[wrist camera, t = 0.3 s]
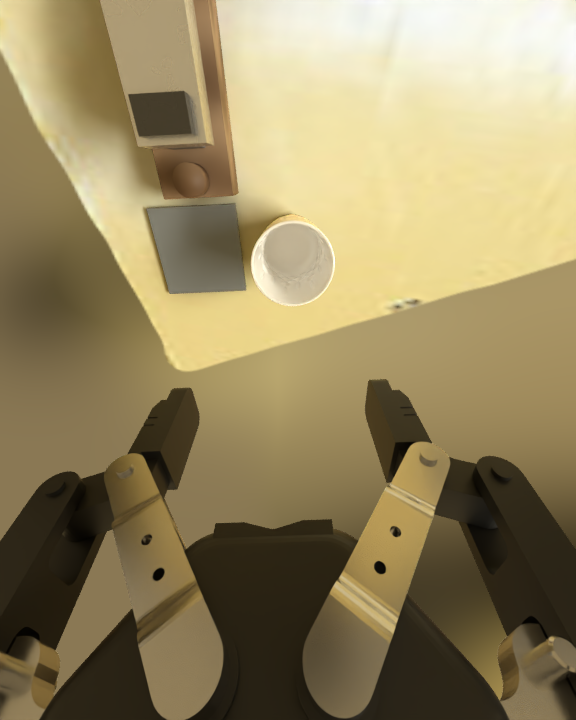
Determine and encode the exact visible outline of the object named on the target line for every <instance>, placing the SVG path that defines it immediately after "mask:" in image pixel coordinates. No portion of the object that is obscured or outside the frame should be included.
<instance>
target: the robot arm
mask: <svg viewBox="0 0 576 720" xmlns="http://www.w3.org/2000/svg"><path fill="white" fill-rule="evenodd" d="M365 414H366V419H367V422H368V426H369V428H370V432H371V435H372V438H373V441H374V444H375V447H376V450H377V453H378V457H379V460H380V463H381V466H382V469H383V472H384V476H385V479H386V482H387V483H389V482H391V484H390V486H387V487H386V489H385V490H384V492H383V494H382V496H381V498H380V500H379V502H378V504H377V506H376V508H375V510H374V512H373V514H372V516H371V517H370V519H369V521H368V523H367V525H366V527H365V529H364V531H363V533H362V535H361V537H360V539H359V541H358V540H357V539H355V538H354V537H352V536H351V535H349V534H347V533H345V532H342V531H340V530H337V529H333V526H332V520H331V519H330V520H303V521H300V522H296V523H293V524H290V525H286V526H283V527H280V528H277V529H269V528H265V527H260V526H256V525H252V524H248V523H244V522H243V523H216V524H215V529H214V533H213V534H210V535H207V536H205V537H203V538H201V539H200V540H198V541H196V542H195V543H193V544H192V545H191V546H189V547H188V548H186V546H185V543H184V541H183V539H182V537H181V535H180V533H179V530H178V528H177V526H176V523H175V521H174V519H173V517H172V514H171V512H170V510H169V508H168V505H167V503H166V501H165V499H164V497H165V494H166V492H167V490H175V489H178V486H179V483H180V480H181V476H182V474H183V471H184V468H185V465H186V462H187V459H188V456H189V453H190V450H191V447H192V444H193V441H194V438H195V435H196V432H197V429H198V426H199V411H198V408H197V405H196V401H195V398H194V395H193V391H192V389H191V388H174V389H172V390H171V393H170V394H169V396H168V398H167V400H161V401H160V402H159V403H158V404H157V405H156V406H155V407H154V408H152V410H151V412H150V414H149V416H148V419H146V421H145V423H144V426H143V427H142V428H141V430H140V432H139V434H138V436H137V438H136V439H135V441H134V443H133V445H132V447H131V449H130V450H129V452H128V454H127V455H124V456H121V457H119V458H118V459H116V460H115V461H113V462H112V463H111V464H110V465H109V466H108V468H107V469H106V471H105V472H102V473H99V474H96V475H93V476H89V477H86V478H83V479H81V478H80V477H79V476H78V474H76V473H75V472H63V473H59V474H57V475H55V476H53V477H51V478H49V479H48V480H46V481H45V482H44V483H43V484H42V485H41V486H39V488H38V489H37V490H36V491H35V493H34V494H33V496H32V497H31V498H30V500H29V501H28V503H27V504H26V506H25V507H24V508H23V510H22V511H21V513H20V514H19V515H18V517H17V518H16V520H15V521H14V523H13V524H12V525H11V527H10V528H9V530H8V531H7V532H6V534H5V535H4V537H3V538H2V540H1V541H0V720H576V549H575V548H574V546H573V545H572V544H571V542H570V541H569V539H568V538H567V536H566V535H565V533H564V532H563V530H562V529H561V528H560V526H559V525H558V523H557V522H556V520H555V519H554V518H553V516H552V515H551V513H550V512H549V510H548V509H547V508H546V506H545V505H544V503H543V502H542V500H541V499H540V497H539V496H538V495H537V493H536V492H535V490H534V489H533V487H532V486H531V484H530V483H529V482H528V480H527V479H526V477H525V476H524V474H523V473H522V472H521V471H520V470H519V469H518V468H517V467H516V466H515V465H513V464H512V463H511V462H508V461H507V460H504V459H502V458H499V457H494V456H486V457H482V458H481V459H479V461H478V462H477V464H474V463H470V462H465V461H461V460H456V459H453V458H450V457H448V455H447V454H446V452H444V451H443V449H441V448H440V447H438V446H437V445H435V444H432V442H431V440H430V438H429V436H428V435H427V432H426V431H425V429H424V427H423V425H422V423H421V421H420V419H419V417H418V416H417V414H416V412H415V410H414V408H413V406H412V404H411V402H410V400H409V398H408V397H407V396H406V395H405V394H403V393H402V392H401V391H400V390H392V389H391V387H390V385H389V383H388V381H387V380H386V379H380V380H369V381H368V387H367V396H366V404H365ZM434 514H435V515H439V516H442V517H446V518H450V519H453V520H457V521H459V524H460V526H461V528H462V531H463V533H464V535H465V538H466V540H467V542H468V545H469V547H470V550H471V552H472V554H473V556H474V559H475V562H476V564H477V566H478V569H479V571H480V573H481V576H482V578H483V580H484V583H485V585H486V588H487V590H488V592H489V594H490V597H491V599H492V602H493V604H494V606H495V609H496V611H497V614H498V616H499V618H500V620H501V623H502V625H503V628H504V630H505V632H506V635H507V637H506V638H505V639H504V640H503V641H502V642H501V643H500V645H499V648H498V663H499V667H500V671H501V675H502V680H503V693H502V697H501V699H500V701H499V699H498V697H497V696H496V694H495V693H494V691H493V690H492V688H491V687H490V686H489V684H488V683H487V682H486V680H485V679H484V678H483V677H482V675H481V674H480V673H479V672H478V671H477V670H476V669H475V668H474V667H473V666H472V664H471V663H470V662H469V661H468V660H467V659H466V658H465V657H464V655H463V654H462V653H461V652H460V651H459V650H458V649H457V648H456V647H455V646H454V644H453V643H452V642H451V641H450V640H449V639H448V638H447V637H446V635H445V634H444V633H443V632H442V631H441V630H440V629H439V628H438V627H437V625H436V624H435V623H434V622H433V621H432V620H431V619H430V618H429V617H428V616H427V614H426V613H425V612H424V611H423V610H422V609H421V608H420V607H419V606H418V605H417V603H416V602H415V601H414V600H413V599H412V598H411V597H410V596H409V595H408V593H407V591H408V589H409V586H410V583H411V580H412V577H413V574H414V571H415V568H416V565H417V562H418V559H419V556H420V554H421V551H422V548H423V545H424V542H425V539H426V536H427V533H428V530H429V527H430V524H431V521H432V519H433V516H434ZM109 530H113V533H114V537H115V541H116V545H117V549H118V553H119V557H120V561H121V565H122V569H123V573H124V577H125V581H126V585H127V589H128V593H129V597H130V600H131V604H132V609H131V610H130V611H129V612H128V614H127V615H126V616H125V617H124V618H123V619H122V620H121V621H120V622H119V623H118V625H117V626H116V627H115V628H114V629H113V630H112V631H111V632H110V633H109V635H108V636H107V637H106V638H105V639H104V640H103V641H102V642H101V644H100V645H99V646H98V647H97V648H96V649H95V650H94V651H93V652H92V653H91V654H90V656H89V657H88V658H87V659H86V660H85V661H84V662H83V663H82V664H81V666H80V667H79V668H78V669H77V670H76V671H75V672H74V673H73V674H72V676H71V677H70V678H69V679H68V680H67V681H66V682H65V683H64V685H63V686H62V687H61V688H60V689H59V691H58V692H57V693H56V695H55V696H54V692H55V690H56V687H57V677H58V674H59V668H60V658H59V655H58V653H57V652H56V651H55V650H56V648H57V645H58V643H59V641H60V638H61V636H62V634H63V632H64V629H65V627H66V624H67V622H68V620H69V618H70V615H71V613H72V611H73V608H74V606H75V604H76V601H77V599H78V597H79V595H80V592H81V590H82V587H83V585H84V583H85V580H86V578H87V576H88V574H89V571H90V569H91V567H92V564H93V562H94V559H95V558H96V555H97V553H98V551H99V548H100V546H101V543H102V541H103V539H104V536H105V534H106V532H107V531H109Z"/></svg>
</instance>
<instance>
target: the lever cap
mask: <svg viewBox="0 0 576 720" xmlns="http://www.w3.org/2000/svg"><path fill="white" fill-rule="evenodd" d="M100 3H101V7H102V11H103V15H104V18H105V22H106V26H107V30H108V34H109V38H110V42H111V45H112V49H113V53H114V57H115V61H116V65H117V68H118V72H119V76H120V80H121V84H122V88H123V91H124V95H125V99H126V103H127V107H128V111H129V114H130V118H131V122H132V126H133V130H134V134H135V137H136V141H137V145H138V147H143V148H149V149H163V148H181V147H198V146H214V139H213V132H212V125H211V118H210V112H209V105H208V98H207V91H206V84H205V77H204V71H203V64H202V57H201V50H200V43H199V36H198V30H197V23H196V16H195V9H194V2H193V0H100Z"/></svg>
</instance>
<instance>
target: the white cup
mask: <svg viewBox="0 0 576 720" xmlns="http://www.w3.org/2000/svg"><path fill="white" fill-rule="evenodd" d="M334 269H335V257H334V252H333V249H332V246H331V244H330V242H329V240H328V239H327V237H326V236H325V235H324V234H323V233H322V232H321V231H320V229H319V228H318V227H317V226H316V225H315V224H313V223H312V222H311V221H309V220H308V219H306V218H304V217H301V216H297V215H293V214H289V215H286V216H282V217H278V218H277V219H276V220H275V221H273V222H272V223H271V224H270V225H269V226H268V227H267V228H266V229H265V230H264V232H263V233H262V235H261V236H260V237H259V239H258V240H257V242H256V244H255V246H254V248H253V251H252V255H251V272H252V276H253V279H254V281H255V283H256V285H257V287H258V288H259V290H260V291H261V292H262V293H263V294H264V295H265V296H266V297H267V298H269V299H270V300H272V301H273V302H276V303H278V304H281V305H286V306H299V305H304V304H307V303H309V302H311V301H313V300H315V299H316V298H318V297H319V296H320V295H321V294H322V293H323V292H324V291H325V290H326V289H327V287H328V286H329V284H330V282H331V280H332V277H333V274H334Z"/></svg>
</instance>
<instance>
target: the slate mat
mask: <svg viewBox="0 0 576 720" xmlns="http://www.w3.org/2000/svg"><path fill="white" fill-rule="evenodd" d="M147 212H148V216H149V220H150V223H151V227H152V231H153V234H154V238H155V242H156V245H157V249H158V253H159V256H160V260H161V264H162V267H163V271H164V275H165V278H166V282H167V286H168V289H169V293H170V294H179V293H201V292H222V291H243V290H246V284H245V276H244V268H243V260H242V252H241V244H240V236H239V228H238V220H237V212H236V204H218V205H199V206H180V207H161V208H147Z"/></svg>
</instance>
